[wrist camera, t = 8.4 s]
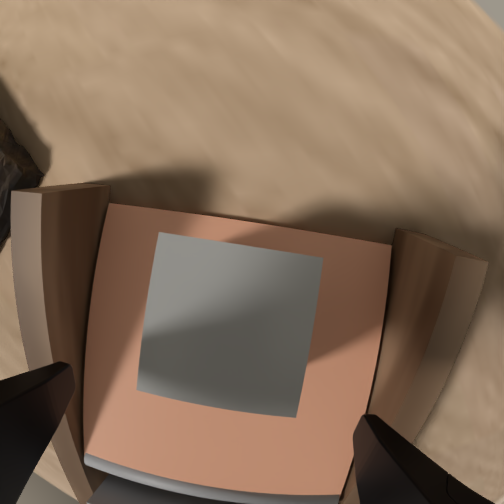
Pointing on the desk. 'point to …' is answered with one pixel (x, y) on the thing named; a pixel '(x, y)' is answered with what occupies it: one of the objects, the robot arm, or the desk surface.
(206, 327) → the gray cube
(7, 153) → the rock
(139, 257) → the trapdoor
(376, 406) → the frame
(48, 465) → the desk surface
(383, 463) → the robot arm
